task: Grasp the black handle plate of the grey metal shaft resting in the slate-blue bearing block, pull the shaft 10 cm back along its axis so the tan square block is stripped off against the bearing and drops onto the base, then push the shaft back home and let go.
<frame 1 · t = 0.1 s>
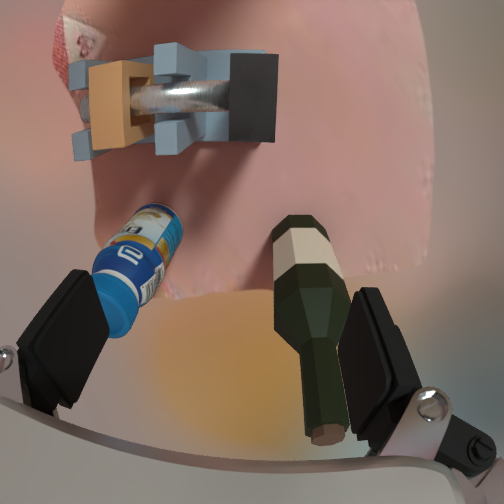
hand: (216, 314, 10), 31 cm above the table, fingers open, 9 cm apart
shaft: (170, 98, 23), point 12 cm above the table, slide at 0.0 cm, touching tan square block
wine bottle: (298, 238, 43), on the table
beverage bottle: (158, 226, 43), on the table
tan square block: (140, 100, 28), point 6 cm above the table, touching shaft
bearing block: (177, 96, 33), on the table
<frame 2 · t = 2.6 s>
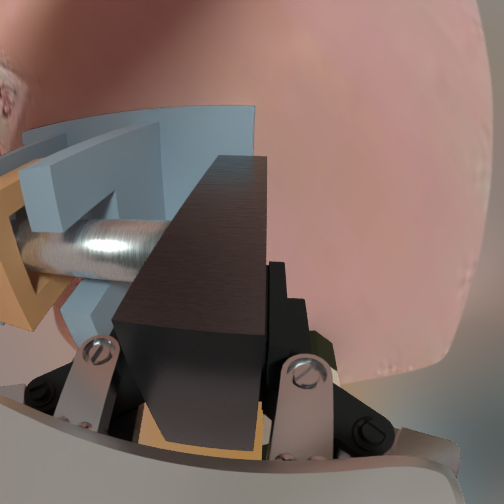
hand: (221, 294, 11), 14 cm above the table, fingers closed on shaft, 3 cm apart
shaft: (79, 250, 13), point 12 cm above the table, slide at 0.0 cm, touching gripper, tan square block
wine bottle: (298, 352, 33), on the table
tan square block: (60, 210, 18), point 6 cm above the table, touching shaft
bearing block: (124, 180, 23), on the table
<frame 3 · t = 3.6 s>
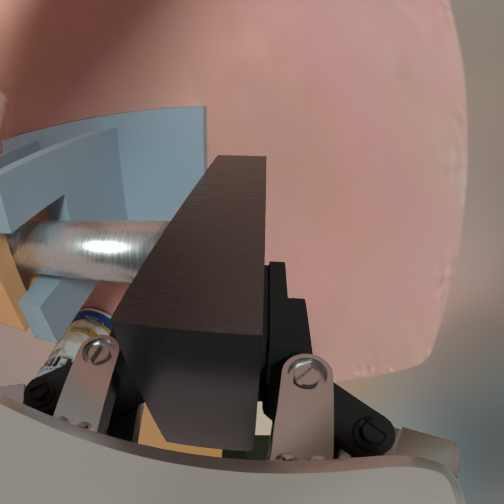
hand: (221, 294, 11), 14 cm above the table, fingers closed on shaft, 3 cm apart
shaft: (79, 251, 13), point 12 cm above the table, slide at 3.6 cm, touching gripper, tan square block
wine bottle: (269, 351, 33), on the table
beverage bottle: (103, 329, 33), on the table
tan square block: (52, 211, 18), point 7 cm above the table, touching bearing block, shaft
bearing block: (91, 183, 24), on the table
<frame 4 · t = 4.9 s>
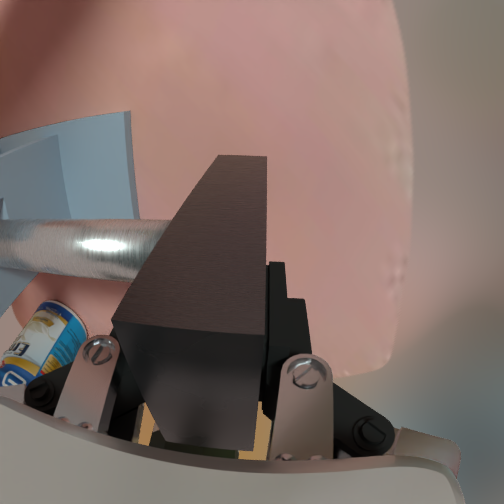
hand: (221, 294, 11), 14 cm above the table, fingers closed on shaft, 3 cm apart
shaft: (79, 250, 13), point 12 cm above the table, slide at 10.0 cm, touching gripper
wine bottle: (213, 347, 34), on the table
beverage bottle: (64, 320, 34), on the table
bearing block: (43, 185, 24), on the table
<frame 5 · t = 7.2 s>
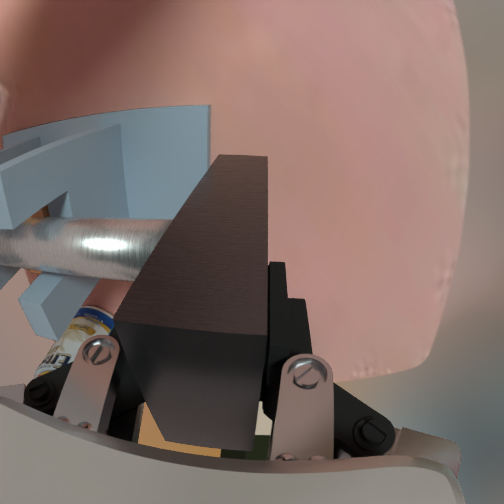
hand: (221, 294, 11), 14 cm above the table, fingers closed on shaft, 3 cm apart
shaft: (78, 248, 13), point 12 cm above the table, slide at 3.4 cm, touching gripper
wine bottle: (268, 351, 33), on the table
beverage bottle: (101, 326, 33), on the table
bearing block: (93, 180, 23), on the table
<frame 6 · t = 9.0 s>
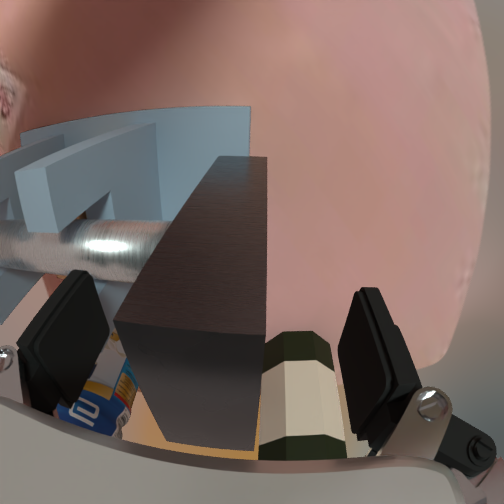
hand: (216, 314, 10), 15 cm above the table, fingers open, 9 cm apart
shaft: (79, 250, 13), point 12 cm above the table, slide at 0.3 cm
wine bottle: (295, 352, 33), on the table
beverage bottle: (124, 331, 33), on the table
bearing block: (121, 180, 23), on the table
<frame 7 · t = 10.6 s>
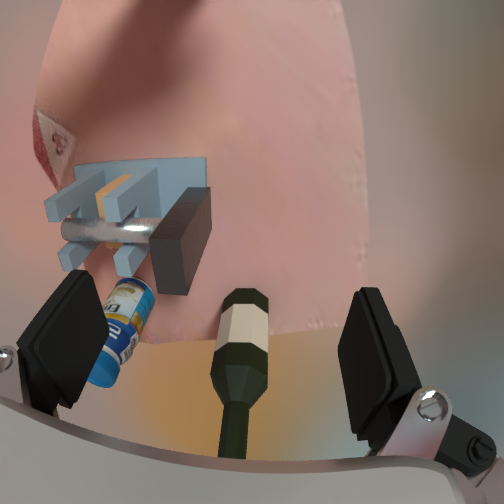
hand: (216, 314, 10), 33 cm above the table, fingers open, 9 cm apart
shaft: (125, 231, 33), point 12 cm above the table, slide at 0.3 cm
wine bottle: (246, 304, 53), on the table
beverage bottle: (136, 292, 53), on the table
tan square block: (134, 199, 42), point 1 cm above the table, touching bearing block
bearing block: (138, 196, 43), on the table
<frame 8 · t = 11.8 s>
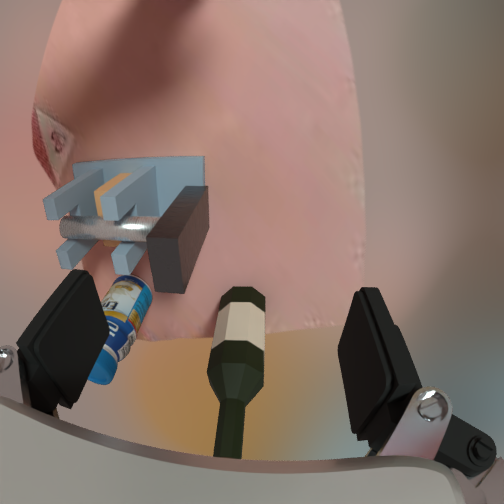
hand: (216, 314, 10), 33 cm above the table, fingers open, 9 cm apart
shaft: (123, 229, 33), point 12 cm above the table, slide at 0.3 cm
wine bottle: (243, 302, 53), on the table
beverage bottle: (134, 290, 53), on the table
tan square block: (132, 197, 42), point 1 cm above the table, touching bearing block
bearing block: (137, 195, 43), on the table
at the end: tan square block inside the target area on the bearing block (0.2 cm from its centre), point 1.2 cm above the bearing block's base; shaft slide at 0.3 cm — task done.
